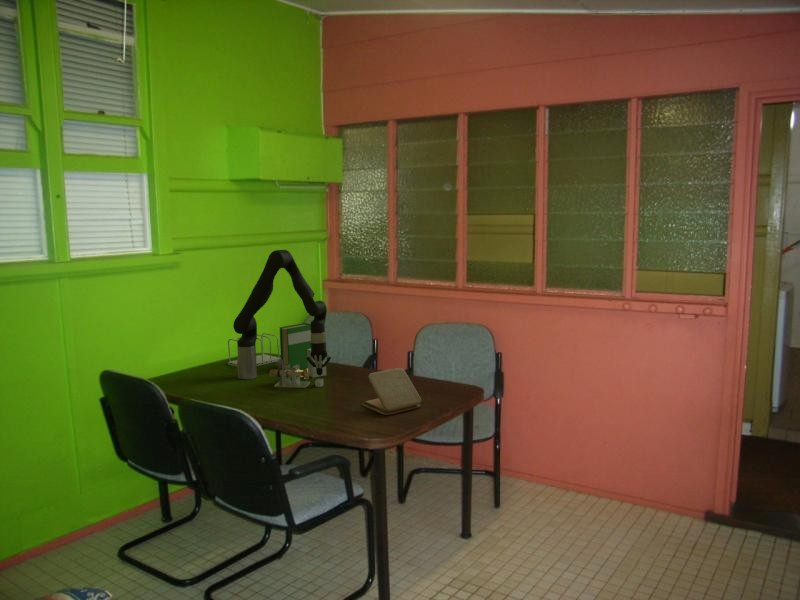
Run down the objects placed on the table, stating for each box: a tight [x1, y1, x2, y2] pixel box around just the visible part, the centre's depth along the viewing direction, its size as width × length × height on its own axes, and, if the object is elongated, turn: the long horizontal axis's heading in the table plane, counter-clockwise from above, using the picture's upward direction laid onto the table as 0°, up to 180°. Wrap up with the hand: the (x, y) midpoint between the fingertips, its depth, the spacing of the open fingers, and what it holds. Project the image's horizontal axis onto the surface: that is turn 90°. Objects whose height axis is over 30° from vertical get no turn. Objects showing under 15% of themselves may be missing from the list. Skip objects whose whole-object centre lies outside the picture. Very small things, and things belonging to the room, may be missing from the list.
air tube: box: [269, 368, 310, 380], centre depth 328 cm, size 19×6×6 cm, turn 83°
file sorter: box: [227, 332, 281, 368], centre depth 377 cm, size 25×17×16 cm
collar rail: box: [273, 359, 324, 389], centre depth 328 cm, size 24×10×12 cm, turn 83°
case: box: [362, 367, 422, 416], centre depth 290 cm, size 20×21×16 cm
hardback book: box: [279, 322, 311, 370], centre depth 363 cm, size 18×7×24 cm, turn 136°
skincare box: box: [307, 349, 327, 378], centre depth 346 cm, size 8×6×15 cm
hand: (319, 375), depth 326 cm, fingers closed
